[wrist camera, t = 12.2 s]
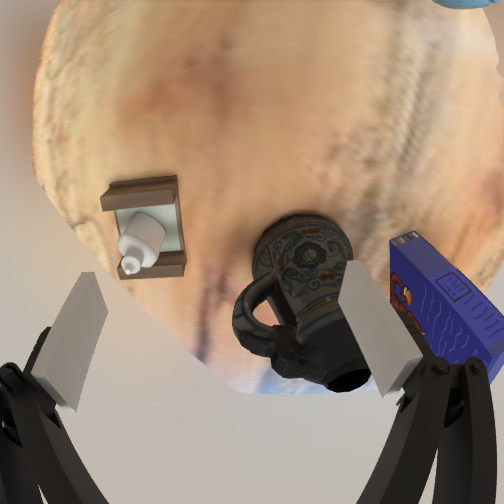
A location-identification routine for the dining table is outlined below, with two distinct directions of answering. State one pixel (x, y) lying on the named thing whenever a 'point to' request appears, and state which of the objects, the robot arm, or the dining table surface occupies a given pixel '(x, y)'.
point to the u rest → (161, 209)
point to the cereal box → (444, 304)
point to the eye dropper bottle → (140, 242)
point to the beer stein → (302, 304)
